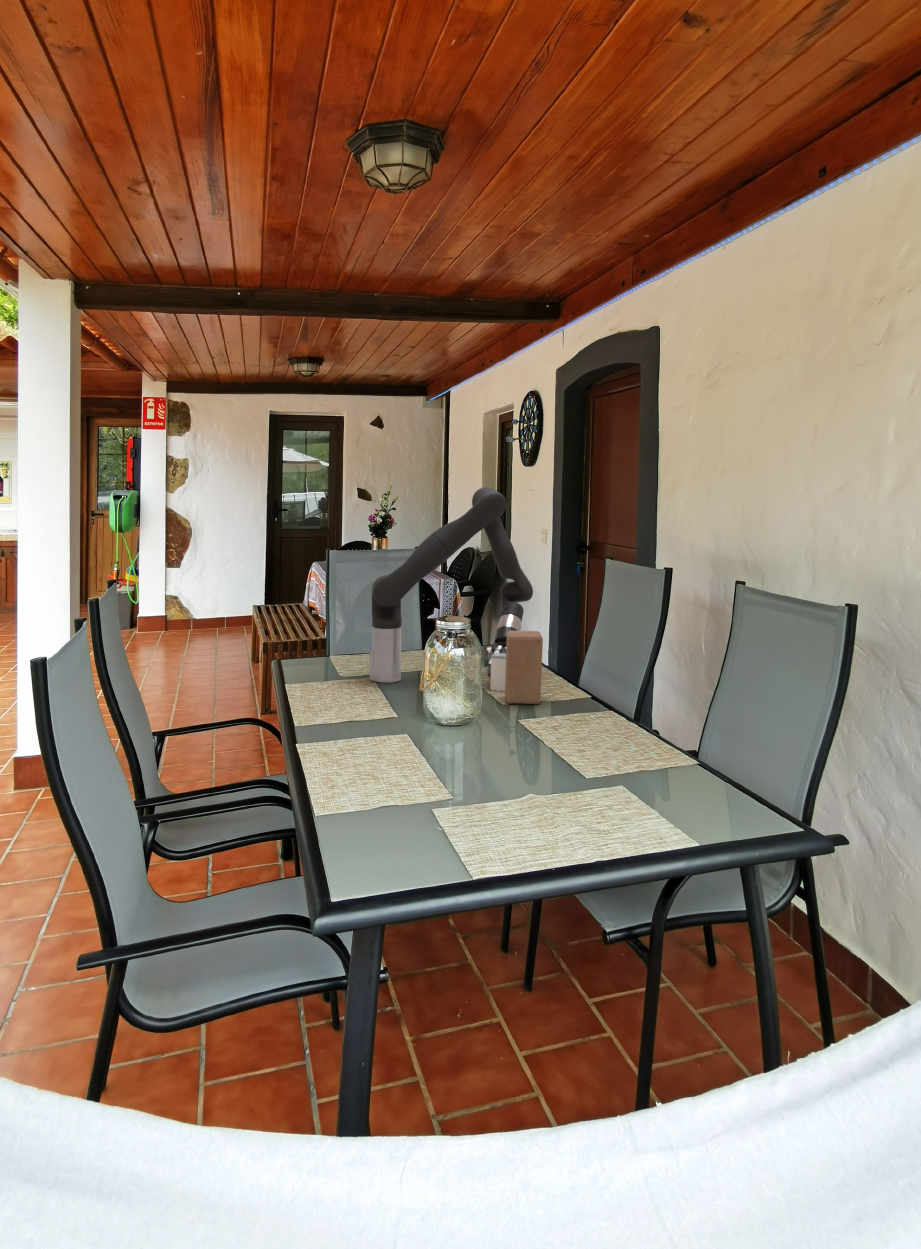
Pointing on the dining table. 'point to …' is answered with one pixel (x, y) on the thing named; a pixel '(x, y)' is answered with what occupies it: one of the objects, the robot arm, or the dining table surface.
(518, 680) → the wooden block
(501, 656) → the beige upright block
